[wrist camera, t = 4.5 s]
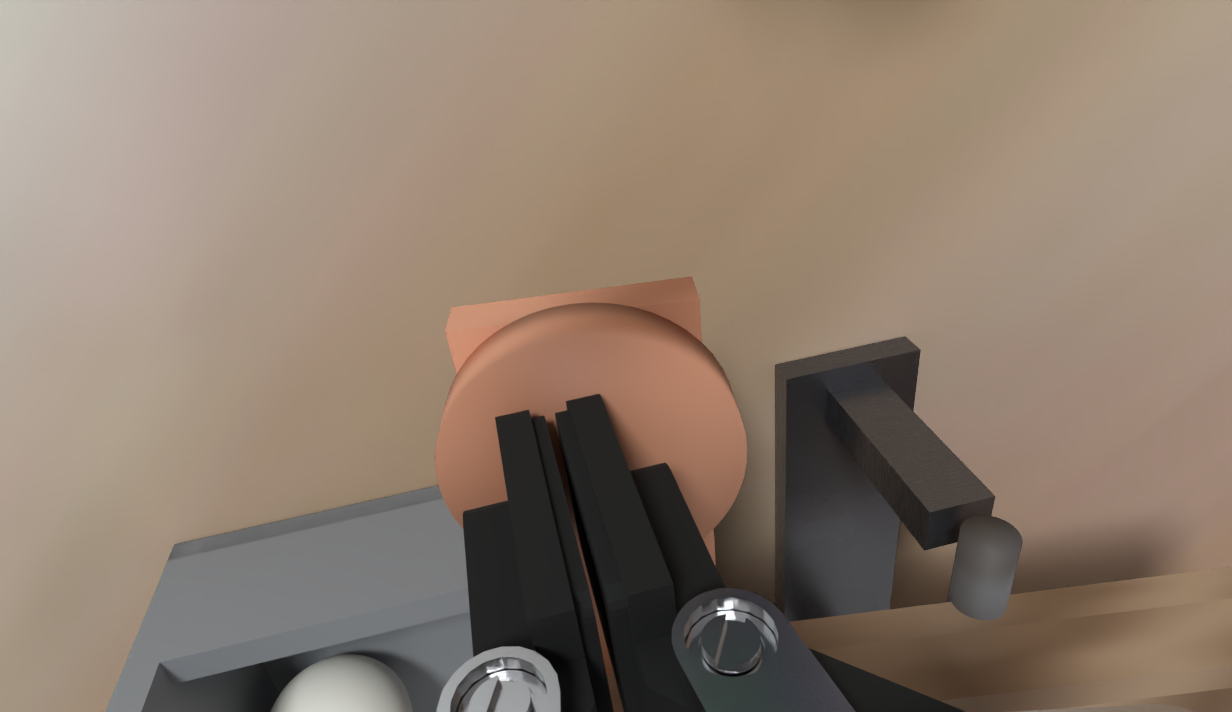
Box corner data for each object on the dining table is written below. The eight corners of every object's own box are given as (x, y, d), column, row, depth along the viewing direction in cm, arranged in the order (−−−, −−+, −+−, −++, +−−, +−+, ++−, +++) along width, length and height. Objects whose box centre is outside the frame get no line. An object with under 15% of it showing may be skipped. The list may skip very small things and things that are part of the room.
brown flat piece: (1678, 122, 13) (1951, 177, 10) (1258, 788, 23) (1340, 893, 21) (424, 284, 13) (391, 377, 10) (587, 870, 24) (589, 983, 21)
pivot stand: (905, 336, 22) (1048, 464, 17) (871, 657, 30) (961, 810, 24) (775, 364, 21) (881, 505, 16) (775, 682, 29) (847, 844, 24)
